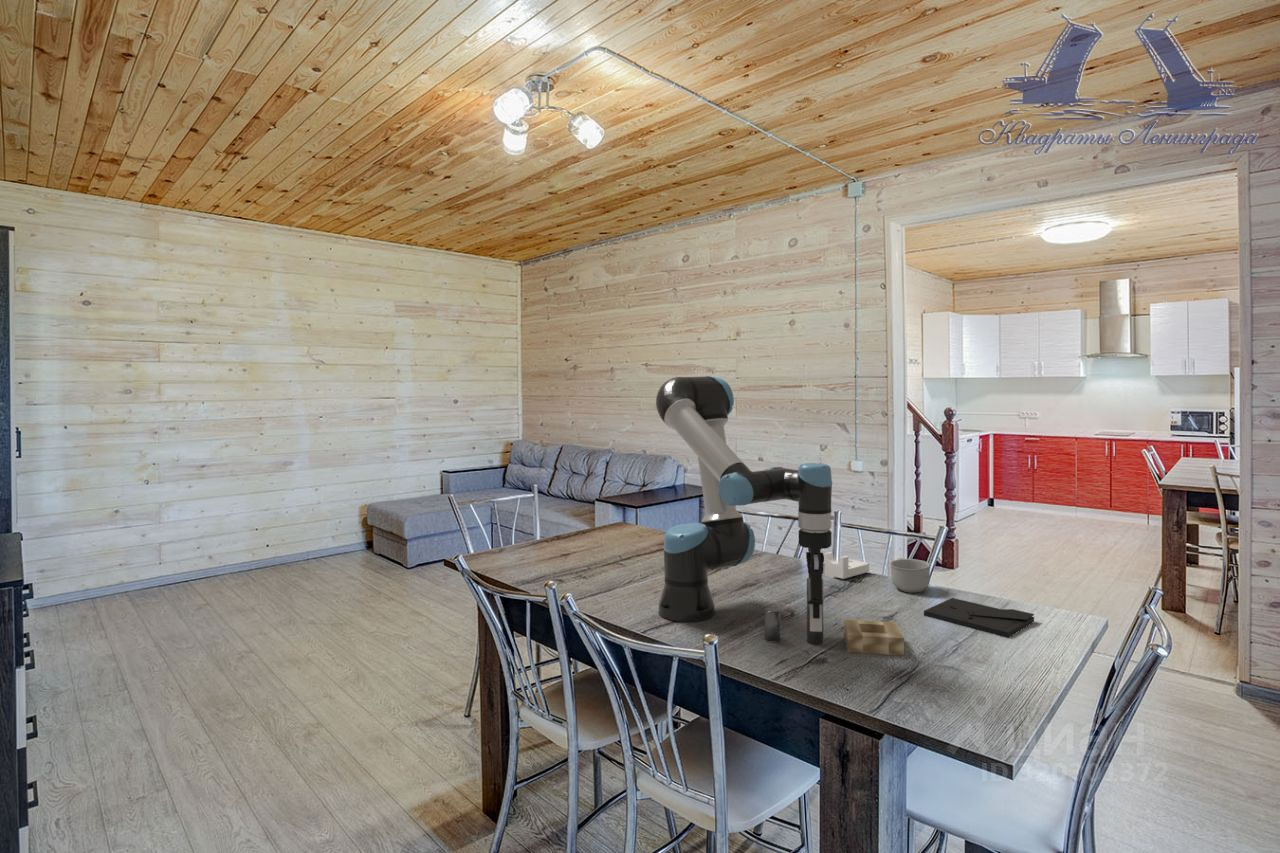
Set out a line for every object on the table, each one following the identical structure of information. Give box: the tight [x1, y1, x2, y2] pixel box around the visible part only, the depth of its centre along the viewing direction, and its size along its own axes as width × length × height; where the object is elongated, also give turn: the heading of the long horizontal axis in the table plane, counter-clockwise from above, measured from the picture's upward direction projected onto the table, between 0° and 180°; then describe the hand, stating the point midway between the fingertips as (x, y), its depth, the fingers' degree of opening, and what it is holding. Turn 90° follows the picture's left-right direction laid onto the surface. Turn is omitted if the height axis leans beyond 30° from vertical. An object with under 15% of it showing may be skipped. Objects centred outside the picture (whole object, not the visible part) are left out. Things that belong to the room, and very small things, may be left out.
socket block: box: [843, 619, 905, 656], centre depth 154 cm, size 12×10×4 cm
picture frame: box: [923, 597, 1035, 639], centre depth 170 cm, size 16×3×21 cm
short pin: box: [763, 607, 781, 642], centre depth 159 cm, size 4×4×7 cm
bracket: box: [824, 551, 870, 580], centre depth 211 cm, size 13×7×8 cm, turn 125°
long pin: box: [806, 577, 824, 646], centre depth 156 cm, size 4×4×15 cm
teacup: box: [889, 557, 931, 594], centre depth 196 cm, size 14×11×8 cm
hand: (815, 624), depth 156 cm, fingers open, 8 cm apart
